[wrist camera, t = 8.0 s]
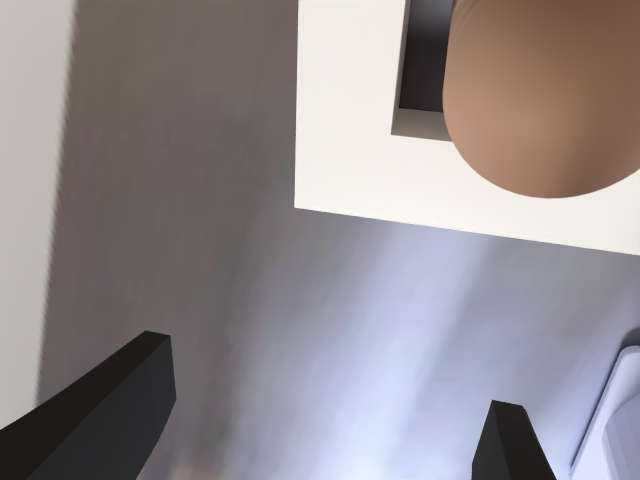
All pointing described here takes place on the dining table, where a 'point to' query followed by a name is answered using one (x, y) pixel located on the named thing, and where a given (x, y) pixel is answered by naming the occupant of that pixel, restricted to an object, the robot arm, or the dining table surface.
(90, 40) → the dining table surface
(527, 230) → the socket block
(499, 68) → the peg
